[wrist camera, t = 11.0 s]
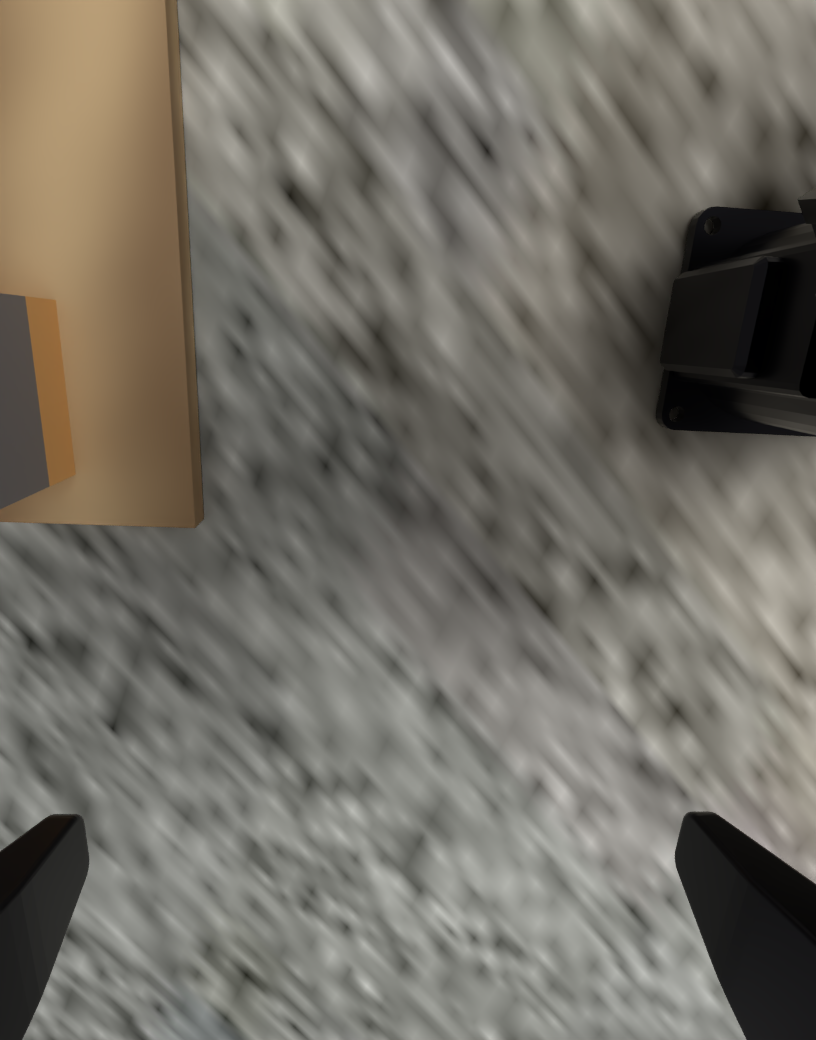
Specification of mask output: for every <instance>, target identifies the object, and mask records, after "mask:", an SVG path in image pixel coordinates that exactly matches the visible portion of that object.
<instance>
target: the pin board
mask: <svg viewBox="0 0 816 1040" xmlns="http://www.w3.org/2000/svg"><path fill="white" fill-rule="evenodd" d="M0 293H3V294H11V295H19V296H27V297H36V298H44V299H52V300H56V307H57V315H58V324H59V333H60V341H61V350H62V359H63V368H64V376H65V385H66V394H67V402H68V411H69V420H70V429H71V437H72V446H73V455H74V464H75V472H76V475H74V476H72V477H69V478H67V479H65V480H63V481H61V482H59V483H56V484H54V485H52V486H50V487H48V488H46V489H43V490H41V491H39V492H37V493H35V494H33V495H30V496H28V497H26V498H24V499H22V500H20V501H17V502H15V503H13V504H11V505H9V506H6V507H4V508H2V509H0V522H23V523H54V524H85V525H116V526H147V527H178V528H196V527H197V526H198V525H199V523H200V522H201V521H202V520H203V519H204V511H203V492H202V473H201V454H200V435H199V416H198V397H197V378H196V358H195V339H194V320H193V301H192V282H191V263H190V244H189V225H188V206H187V187H186V168H185V149H184V130H183V110H182V91H181V72H180V53H179V34H178V15H177V0H0Z"/></svg>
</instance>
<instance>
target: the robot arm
mask: <svg viewBox="0 0 816 1040" xmlns="http://www.w3.org/2000/svg"><path fill="white" fill-rule="evenodd" d="M798 202H799V205H800V208H801V211H802V213H794V212H781V211H768V210H754V209H741V208H728V207H710V208H707V209H705V210H702V211H701V212H699V213H697V214H696V215H695V216H694V218H693V219H692V221H691V223H690V226H689V231H688V237H687V242H686V248H685V253H684V259H683V265H682V270H681V275H680V276H679V277H678V278H676V279H675V281H674V284H673V289H672V295H671V301H670V306H669V312H668V318H667V323H666V329H665V335H664V340H663V346H662V352H661V357H660V363H661V365H662V366H663V368H664V371H663V376H662V382H661V387H660V393H659V399H658V404H657V410H656V419H657V421H658V423H659V424H660V425H661V426H662V427H665V428H669V429H673V430H687V431H708V432H730V433H751V434H772V435H794V436H815V437H816V188H814V189H812V190H811V191H809V192H807V193H806V194H804V195H803V196H801V197H800V198H798ZM707 219H710V220H711V221H712V222H713V227H714V229H713V231H712V233H711V234H710V235H709V234H707V233H706V231H705V230H704V224H705V222H706V220H707ZM674 407H677V408H678V415H677V417H676V418H675V419H674V420H670V418H669V413H670V411H671V409H673V408H674ZM675 864H676V868H677V871H678V874H679V877H680V879H681V882H682V885H683V887H684V890H685V893H686V895H687V898H688V901H689V903H690V906H691V909H692V911H693V914H694V917H695V919H696V922H697V925H698V927H699V930H700V933H701V935H702V938H703V941H704V943H705V946H706V949H707V951H708V954H709V957H710V959H711V962H712V964H713V967H714V969H715V972H716V974H717V977H718V979H719V982H720V984H721V986H722V988H723V991H724V993H725V995H726V997H727V999H728V1002H729V1004H730V1006H731V1008H732V1010H733V1012H734V1014H735V1016H736V1018H737V1021H738V1023H739V1025H740V1027H741V1029H742V1031H743V1033H744V1035H745V1037H746V1039H747V1040H816V884H815V883H813V882H812V881H811V880H809V879H808V878H806V877H805V876H804V875H802V874H801V873H799V872H798V871H797V870H795V869H794V868H792V867H791V866H790V865H788V864H787V863H785V862H784V861H782V860H781V859H780V858H778V857H777V856H775V855H774V854H773V853H771V852H770V851H768V850H767V849H766V848H764V847H763V846H761V845H760V844H758V843H757V842H756V841H754V840H753V839H751V838H750V837H749V836H747V835H746V834H744V833H743V832H742V831H740V830H739V829H737V828H736V827H734V826H733V825H732V824H730V823H729V822H727V821H726V820H725V819H723V818H722V817H720V816H719V815H717V814H716V813H713V812H688V813H687V814H686V815H685V816H684V818H683V821H682V825H681V829H680V833H679V838H678V842H677V846H676V850H675ZM88 867H89V852H88V845H87V838H86V831H85V824H84V820H83V818H82V816H80V815H78V814H54V815H50V816H48V817H47V818H45V819H43V820H42V821H41V822H39V823H38V824H37V825H35V826H34V827H33V828H31V829H30V830H29V831H27V832H26V833H25V834H23V835H22V836H20V837H19V838H18V839H16V840H15V841H14V842H12V843H11V844H10V845H8V846H7V847H6V848H4V849H3V850H1V851H0V1040H22V1039H23V1037H24V1035H25V1033H26V1030H27V1028H28V1026H29V1024H30V1022H31V1020H32V1018H33V1015H34V1013H35V1011H36V1009H37V1006H38V1004H39V1002H40V1000H41V997H42V995H43V992H44V990H45V987H46V985H47V982H48V979H49V977H50V974H51V971H52V969H53V966H54V963H55V961H56V958H57V955H58V952H59V950H60V947H61V944H62V942H63V939H64V936H65V933H66V931H67V928H68V925H69V923H70V920H71V917H72V914H73V912H74V909H75V906H76V904H77V901H78V898H79V895H80V893H81V890H82V887H83V885H84V882H85V879H86V876H87V872H88Z"/></svg>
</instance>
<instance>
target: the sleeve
mask: <svg viewBox="0 0 816 1040" xmlns="http://www.w3.org/2000/svg"><path fill="white" fill-rule="evenodd" d="M74 475H76V472H75V464H74V455H73V446H72V437H71V429H70V420H69V411H68V402H67V394H66V385H65V376H64V368H63V359H62V350H61V341H60V333H59V324H58V315H57V307H56V300H52V299H44V298H36V297H27V296H19V295H11V294H3V293H0V509H2V508H4V507H6V506H9V505H11V504H13V503H15V502H17V501H20V500H22V499H24V498H26V497H28V496H30V495H33V494H35V493H37V492H39V491H41V490H43V489H46V488H48V487H50V486H52V485H54V484H56V483H59V482H61V481H63V480H65V479H67V478H69V477H72V476H74Z"/></svg>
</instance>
